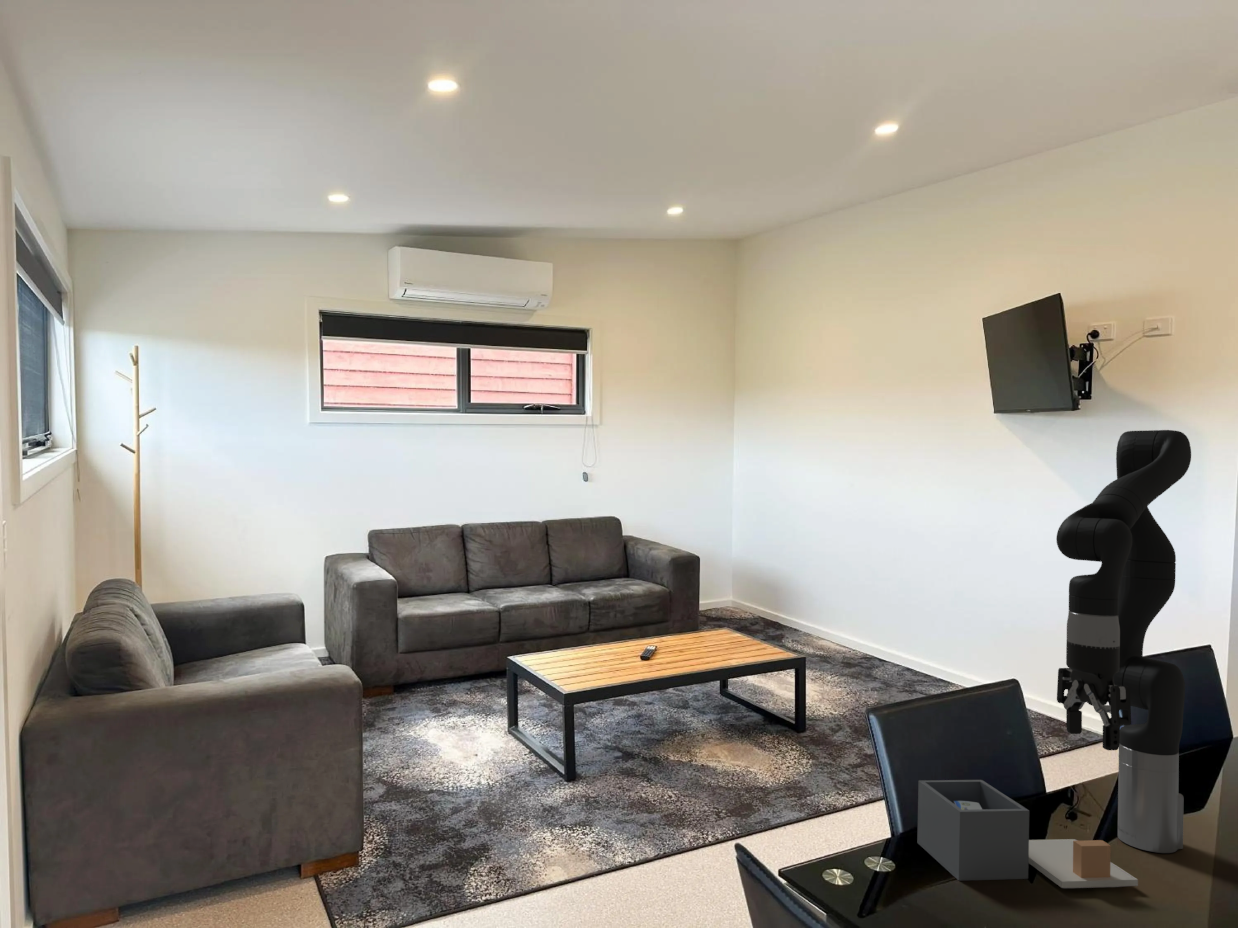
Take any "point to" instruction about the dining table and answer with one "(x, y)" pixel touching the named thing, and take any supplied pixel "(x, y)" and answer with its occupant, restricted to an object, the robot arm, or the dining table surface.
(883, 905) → the dining table surface
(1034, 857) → the lid
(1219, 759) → the dining table surface
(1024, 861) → the tub
